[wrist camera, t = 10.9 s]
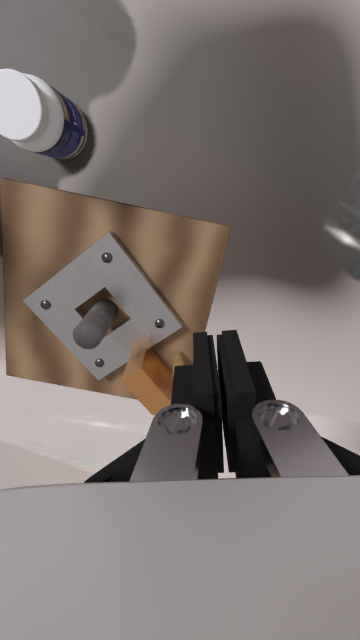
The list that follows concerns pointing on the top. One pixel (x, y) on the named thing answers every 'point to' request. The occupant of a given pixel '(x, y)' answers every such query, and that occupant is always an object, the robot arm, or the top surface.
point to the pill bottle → (39, 116)
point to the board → (102, 309)
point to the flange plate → (125, 339)
